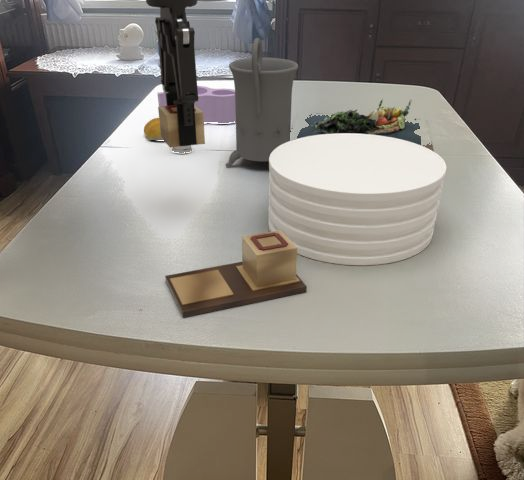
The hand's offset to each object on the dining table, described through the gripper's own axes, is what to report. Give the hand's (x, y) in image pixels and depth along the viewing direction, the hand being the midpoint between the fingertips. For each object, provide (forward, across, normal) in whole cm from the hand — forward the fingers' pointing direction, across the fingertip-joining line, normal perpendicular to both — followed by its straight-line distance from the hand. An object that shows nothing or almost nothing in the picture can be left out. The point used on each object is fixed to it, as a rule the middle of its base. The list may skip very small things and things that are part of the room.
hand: (182, 138), depth 93 cm
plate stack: (+12, -17, -24) cm, 32 cm away
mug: (+13, +17, -21) cm, 30 cm away
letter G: (0, 0, 0) cm, 0 cm away
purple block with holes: (+13, +55, -19) cm, 59 cm away
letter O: (+11, -29, -4) cm, 31 cm away
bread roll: (+13, +44, -6) cm, 46 cm away
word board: (+12, -29, +1) cm, 32 cm away
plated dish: (+12, +30, -54) cm, 63 cm away
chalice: (+13, +32, -8) cm, 35 cm away
